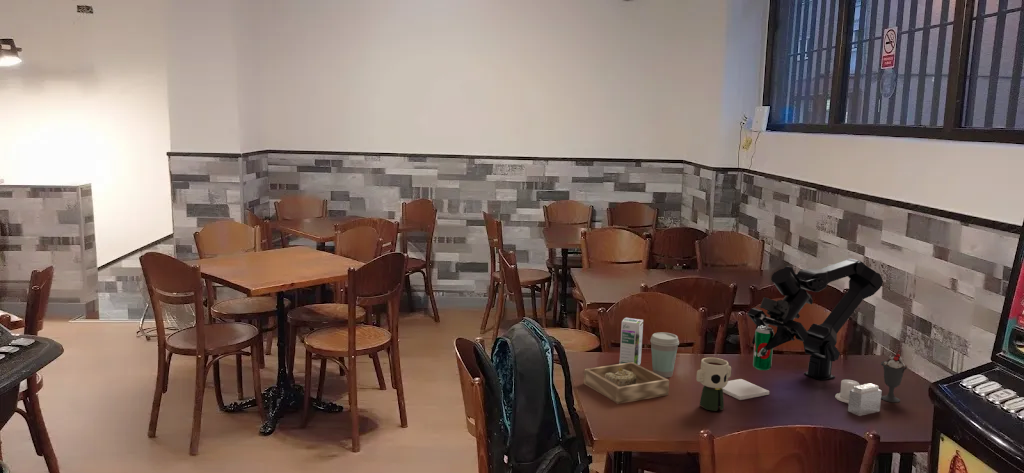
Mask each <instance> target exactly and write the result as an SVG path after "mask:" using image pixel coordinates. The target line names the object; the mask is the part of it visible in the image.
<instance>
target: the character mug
mask: <svg viewBox="0 0 1024 473" xmlns="http://www.w3.org/2000/svg"><path fill="white" fill-rule="evenodd" d="M731 376H732V367H731V365H729V361H728V360H725V359H722V358H718V357H705V358H701V360H700V369H698V370H696V382H699V383H700V384H702V385H703V387H702V391H701V395H700V400H699V406H701V407H702V408H704V409H705V410H708V411H716V412H717V411H718V408H719V410H720V411H723V410H724V409H725V408H724V405H725V403H724V399H725V398H724V392H723V389H722V388H724V387H725V386H726V385H727V383H728V381H729V379H730V378H731Z"/></svg>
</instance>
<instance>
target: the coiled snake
mask: <svg viewBox="0 0 1024 473" xmlns="http://www.w3.org/2000/svg"><path fill="white" fill-rule="evenodd" d="M604 378H605V379H607V380H608V381H610V382H612V383H614V384H616V385H617V386H619V387H621V386H627V385H633V384H636V379H637V376H636V375H635V374H634V373H633V372H631V371H627V370H624V369H621V368H619V370H618V372H616V373H615V374H614V373H606V374H605V377H604Z"/></svg>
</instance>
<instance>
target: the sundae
mask: <svg viewBox="0 0 1024 473" xmlns="http://www.w3.org/2000/svg"><path fill="white" fill-rule="evenodd" d="M899 352H900V349H898V350H897V352H896V353H895V354H892V355H890V356H889V358H888V359H887V360H883V361H882V362H881V363H880V365H881V366H882V367H883V380H884V383H885V384H886V386H887V387H888V388H889V389H888V393H887V394H886V395H881V400H883V401H885V402H889V403H893V404H895V403H900V402H901V399H900V398H898V397H896V396H895V392H894V391H895V388H897V387H899V386H900V385H901V383H902V381H903V376H904V372H905V371H906V370H907V369H908V366H907V365H906V364H905V363H904V361H903V358H902V357H901V354H899Z"/></svg>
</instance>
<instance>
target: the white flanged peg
mask: <svg viewBox="0 0 1024 473" xmlns="http://www.w3.org/2000/svg"><path fill="white" fill-rule="evenodd" d="M859 385H860V383H859V381H856V380H852V379H842V380H841V381H840V392H839V393H836V394H835V395H834V398H835V399H836V400H837V401H840V402H842V403H846V404H849V394H850V390H853V389H854V386H859Z"/></svg>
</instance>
